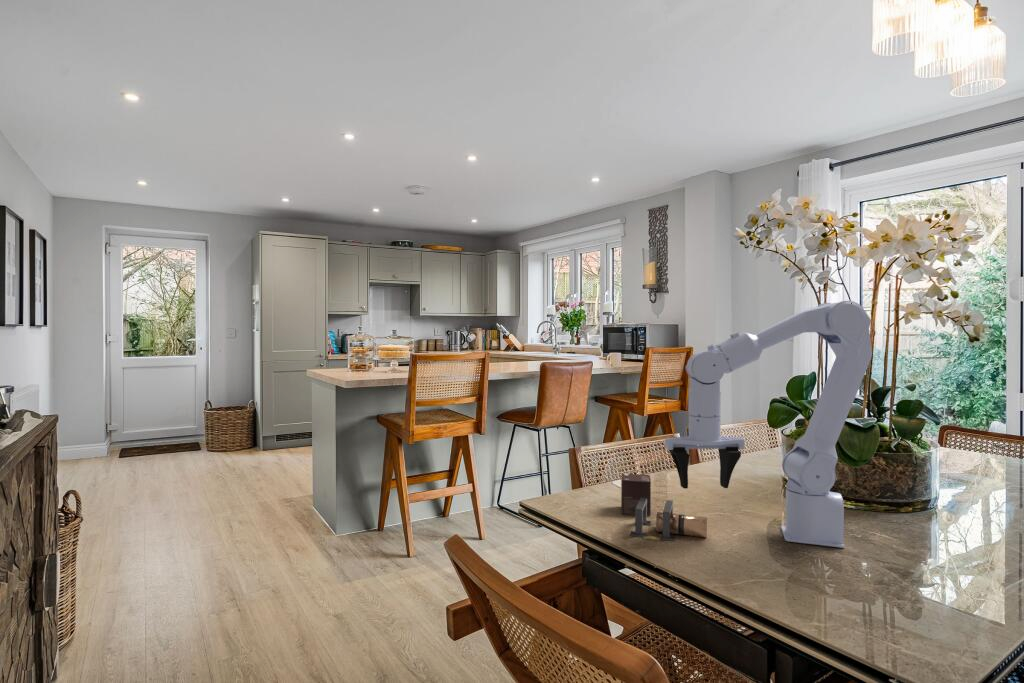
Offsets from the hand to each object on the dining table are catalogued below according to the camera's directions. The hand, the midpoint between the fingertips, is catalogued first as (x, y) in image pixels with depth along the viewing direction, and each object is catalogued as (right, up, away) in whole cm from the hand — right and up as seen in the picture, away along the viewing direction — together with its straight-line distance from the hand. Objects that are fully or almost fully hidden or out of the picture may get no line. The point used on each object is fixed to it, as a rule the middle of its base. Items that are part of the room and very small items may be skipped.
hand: (704, 487), depth 110 cm
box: (-10, -9, +13) cm, 19 cm away
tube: (-4, -9, 0) cm, 10 cm away
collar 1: (-11, -9, +2) cm, 14 cm away
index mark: (-11, -9, -3) cm, 14 cm away
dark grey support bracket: (-7, -9, 0) cm, 11 cm away
